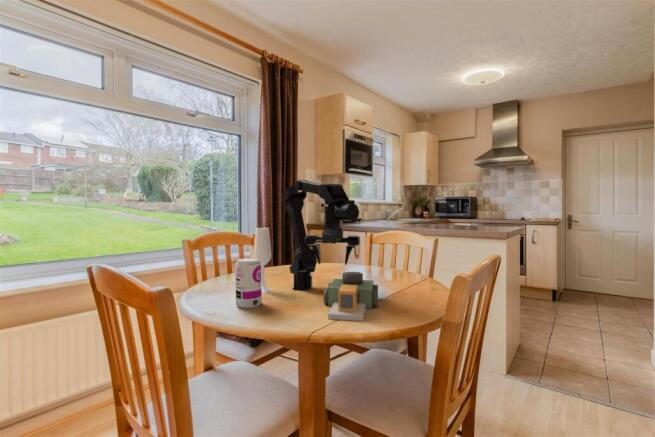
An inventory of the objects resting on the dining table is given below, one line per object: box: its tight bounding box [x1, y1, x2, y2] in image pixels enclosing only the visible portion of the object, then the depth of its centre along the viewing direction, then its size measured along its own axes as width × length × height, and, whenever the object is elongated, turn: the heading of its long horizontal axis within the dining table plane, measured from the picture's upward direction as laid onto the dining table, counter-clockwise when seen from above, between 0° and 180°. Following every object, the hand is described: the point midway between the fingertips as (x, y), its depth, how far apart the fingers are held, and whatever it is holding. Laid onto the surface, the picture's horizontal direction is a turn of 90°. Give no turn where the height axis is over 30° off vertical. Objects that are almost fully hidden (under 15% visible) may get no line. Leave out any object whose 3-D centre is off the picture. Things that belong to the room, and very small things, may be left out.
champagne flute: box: [253, 227, 273, 294], centre depth 127 cm, size 7×7×24 cm
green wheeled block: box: [323, 271, 379, 322], centre depth 107 cm, size 17×25×9 cm
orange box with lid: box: [338, 285, 357, 312], centre depth 102 cm, size 5×8×6 cm, turn 170°
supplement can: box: [234, 257, 263, 309], centre depth 109 cm, size 8×8×15 cm
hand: (332, 264), depth 116 cm, fingers open, 9 cm apart
